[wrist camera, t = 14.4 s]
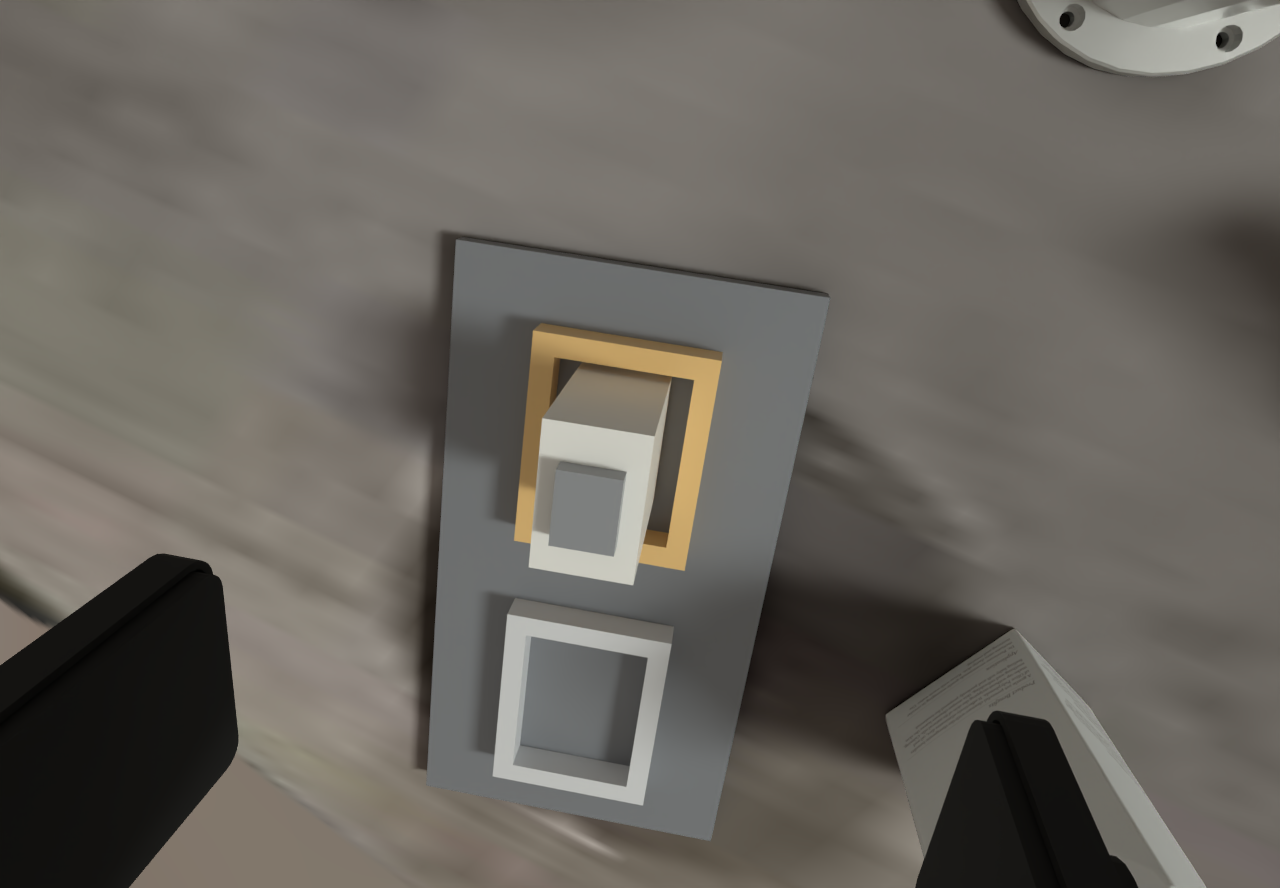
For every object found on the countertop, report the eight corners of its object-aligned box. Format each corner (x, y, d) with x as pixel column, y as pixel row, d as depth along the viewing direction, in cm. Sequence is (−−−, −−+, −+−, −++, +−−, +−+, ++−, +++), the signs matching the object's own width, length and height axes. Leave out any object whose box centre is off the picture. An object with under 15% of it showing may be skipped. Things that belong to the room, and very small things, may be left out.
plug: (672, 375, 36) (652, 444, 28) (653, 498, 38) (630, 596, 30) (582, 361, 36) (536, 425, 28) (569, 484, 38) (523, 578, 30)
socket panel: (828, 293, 35) (834, 304, 33) (711, 826, 46) (709, 863, 43) (463, 236, 36) (444, 243, 34) (432, 772, 47) (416, 805, 44)
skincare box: (956, 788, 43) (1066, 1117, 29) (874, 707, 42) (946, 1007, 27) (1098, 704, 40) (1299, 1021, 26) (1016, 615, 39) (1178, 893, 25)
